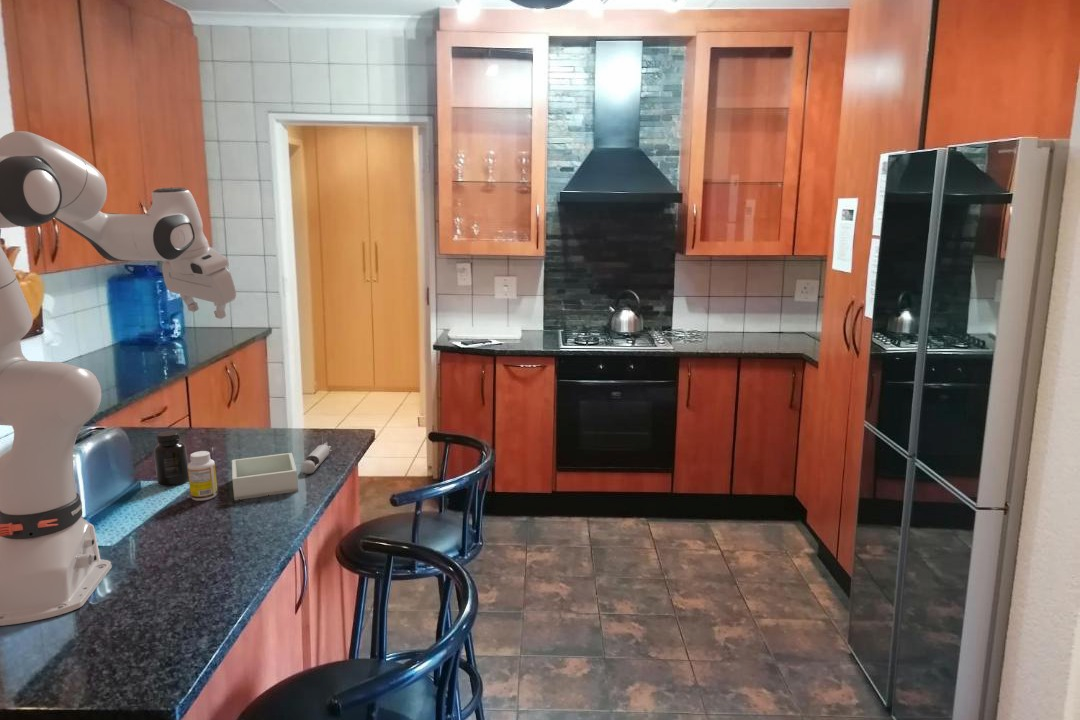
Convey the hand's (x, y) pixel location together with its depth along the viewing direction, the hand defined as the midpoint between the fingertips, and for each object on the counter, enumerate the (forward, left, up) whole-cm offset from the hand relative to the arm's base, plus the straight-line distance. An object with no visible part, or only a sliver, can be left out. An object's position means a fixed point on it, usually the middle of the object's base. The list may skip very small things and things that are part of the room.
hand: (207, 313), depth 171 cm
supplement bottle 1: (-1, +11, -40) cm, 41 cm away
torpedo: (-1, -22, -40) cm, 46 cm away
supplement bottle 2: (-14, +4, -40) cm, 42 cm away
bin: (-12, -9, -39) cm, 42 cm away
